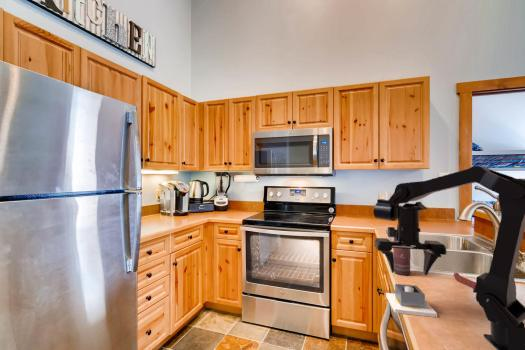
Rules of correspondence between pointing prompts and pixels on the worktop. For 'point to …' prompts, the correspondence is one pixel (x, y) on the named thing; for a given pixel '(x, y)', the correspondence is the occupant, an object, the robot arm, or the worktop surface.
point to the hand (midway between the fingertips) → (408, 273)
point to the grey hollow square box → (410, 296)
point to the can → (401, 261)
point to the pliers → (465, 281)
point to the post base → (410, 310)
